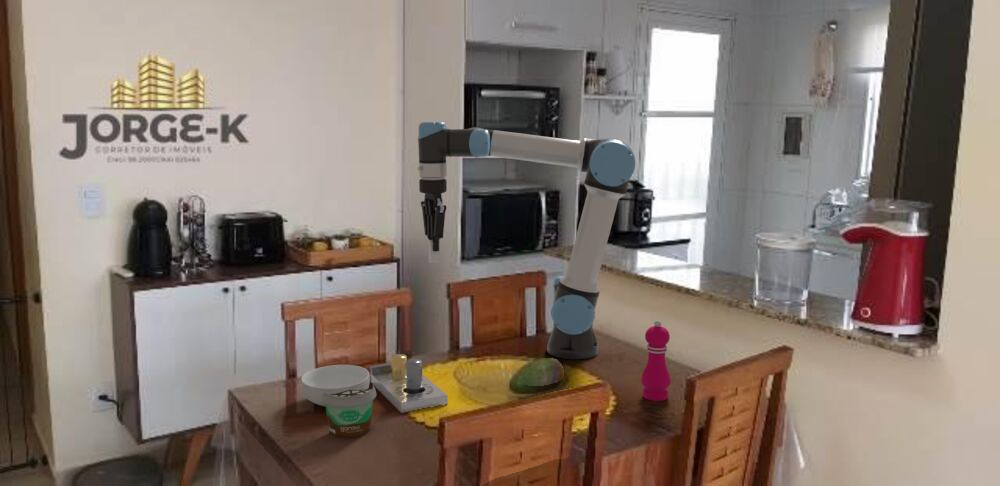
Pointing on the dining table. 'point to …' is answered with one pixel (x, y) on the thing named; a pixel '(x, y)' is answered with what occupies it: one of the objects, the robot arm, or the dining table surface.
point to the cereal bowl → (333, 381)
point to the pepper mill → (656, 364)
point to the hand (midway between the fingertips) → (434, 262)
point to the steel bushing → (414, 376)
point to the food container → (349, 412)
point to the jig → (404, 386)
